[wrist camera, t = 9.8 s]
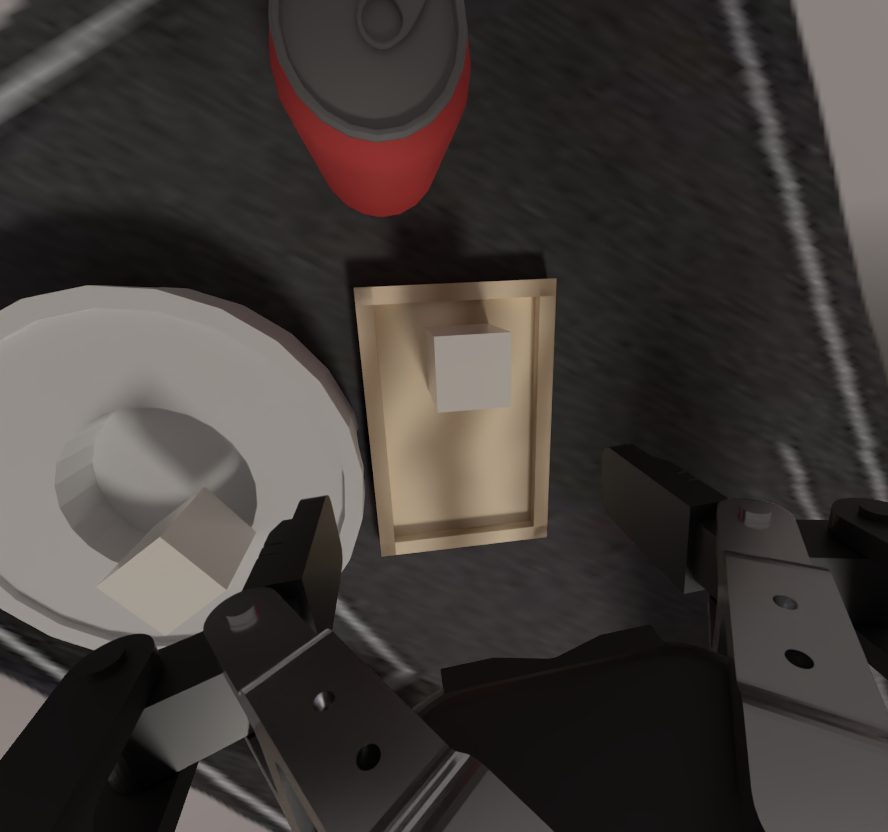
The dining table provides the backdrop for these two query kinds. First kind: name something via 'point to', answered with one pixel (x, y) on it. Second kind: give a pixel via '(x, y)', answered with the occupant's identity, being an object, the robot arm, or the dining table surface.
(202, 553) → the stone block
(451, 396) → the stone block
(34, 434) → the ashtray
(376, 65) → the beer can
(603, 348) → the dining table surface
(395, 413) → the tray
